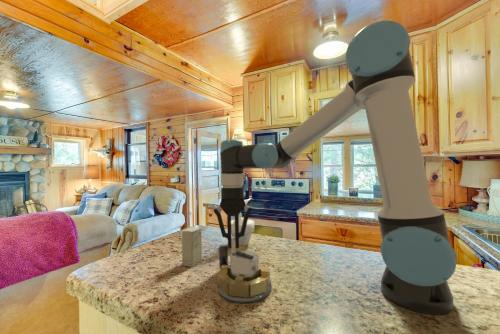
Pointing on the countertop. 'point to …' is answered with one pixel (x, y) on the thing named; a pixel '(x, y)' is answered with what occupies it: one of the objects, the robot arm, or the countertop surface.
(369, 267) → the countertop surface
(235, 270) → the housing
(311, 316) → the countertop surface
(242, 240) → the potted plant
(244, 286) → the tan handled ring
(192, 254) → the skincare box
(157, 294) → the countertop surface
